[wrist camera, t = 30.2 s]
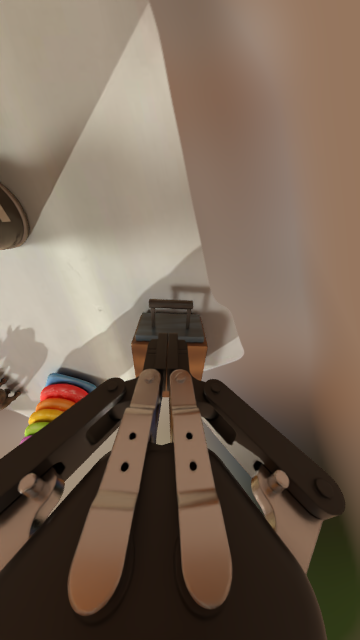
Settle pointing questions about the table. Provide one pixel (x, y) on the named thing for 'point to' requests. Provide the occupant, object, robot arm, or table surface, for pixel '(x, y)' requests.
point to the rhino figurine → (6, 396)
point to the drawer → (170, 322)
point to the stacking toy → (56, 400)
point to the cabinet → (194, 353)
